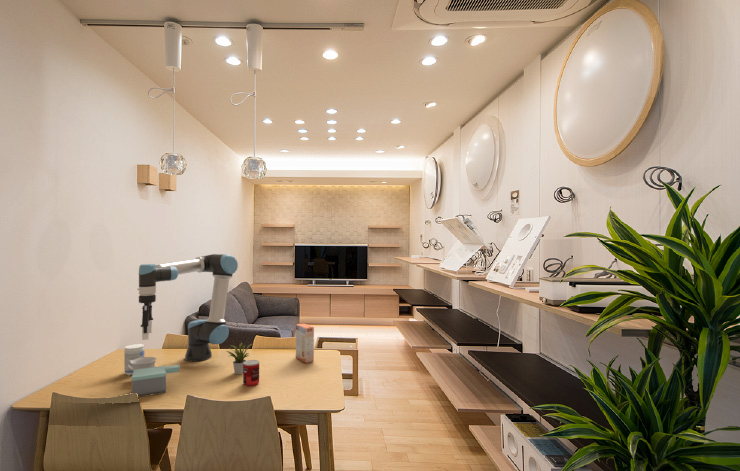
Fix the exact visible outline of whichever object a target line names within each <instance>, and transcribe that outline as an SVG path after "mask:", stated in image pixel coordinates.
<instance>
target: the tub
mask: <svg viewBox="0 0 740 471" xmlns="http://www.w3.org/2000/svg"><path fill="white" fill-rule="evenodd" d="M166 392H167V375H166V376H164V377H157V378H150V379H143V380H136V381H132V380H131V394H132V393H137V394H138V396H139V397H138V398H141V397H147V396H152V395H151V394H154V395H158V394H159V393H160V394H165V393H166ZM160 394H159V395H160ZM146 395H147V396H146Z"/></svg>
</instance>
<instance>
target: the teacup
mask: <svg viewBox="0 0 740 471" xmlns="http://www.w3.org/2000/svg"><path fill="white" fill-rule="evenodd" d="M157 360H158V358H157V357H154V356H144V357H143V358H138V359H135V360H133V361H132V360H130V361H128V362H127V367H128V368H129V369H131V370H133V372H134V370H137V369H144V368H152V367H156V366H155V365H156V361H157ZM129 363H131V365H132V367H133V368H132V367H130V365H129Z"/></svg>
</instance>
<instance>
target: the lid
mask: <svg viewBox="0 0 740 471" xmlns="http://www.w3.org/2000/svg"><path fill="white" fill-rule="evenodd" d="M178 372H179V373H180V364H174V365H162V366H154V367H152V368H144V369H137V370H134V372H133V375H131V382H132V381H136V380H143V379H150V378H157V377H164V376H166V377H167V375H168V374H173V373H178Z"/></svg>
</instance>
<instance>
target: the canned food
mask: <svg viewBox="0 0 740 471" xmlns="http://www.w3.org/2000/svg"><path fill="white" fill-rule="evenodd" d="M242 375H243V376H242V381H243V385H244V386H246V387H254V386H257V385H258V384H259V383H260V361H259V360H257V359H249V360H246V361H245V362H243V374H242Z"/></svg>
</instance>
